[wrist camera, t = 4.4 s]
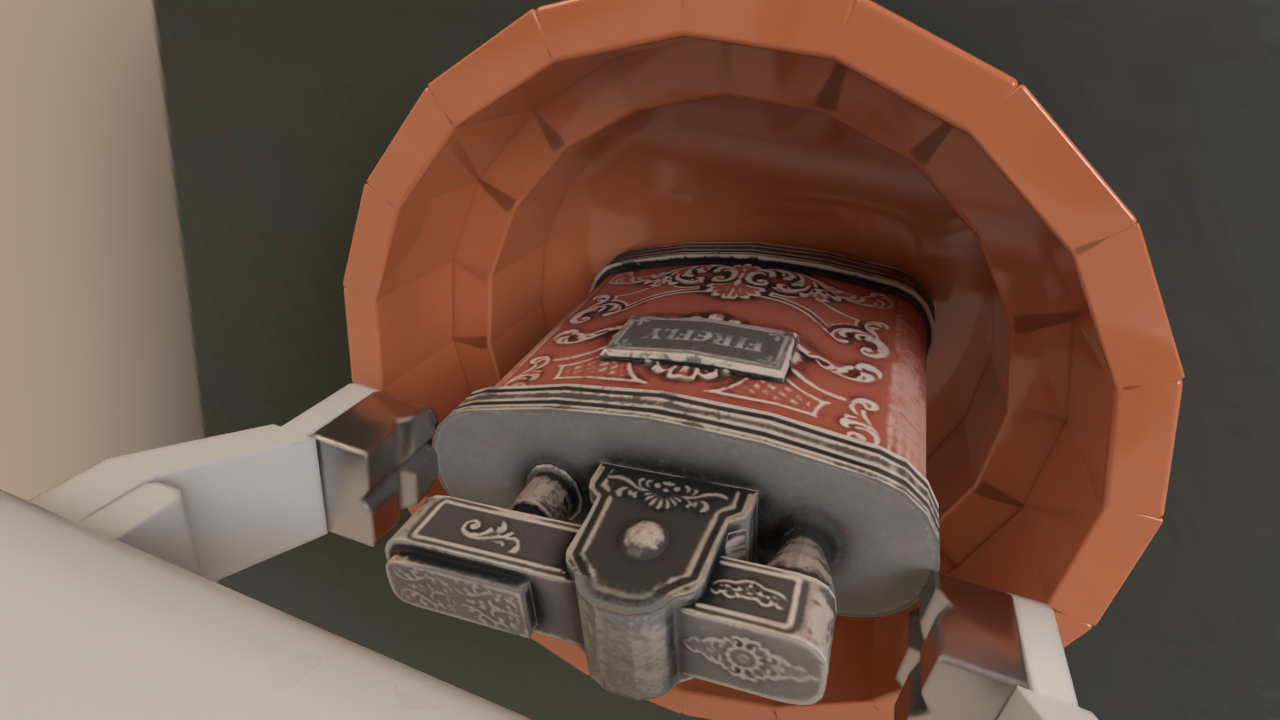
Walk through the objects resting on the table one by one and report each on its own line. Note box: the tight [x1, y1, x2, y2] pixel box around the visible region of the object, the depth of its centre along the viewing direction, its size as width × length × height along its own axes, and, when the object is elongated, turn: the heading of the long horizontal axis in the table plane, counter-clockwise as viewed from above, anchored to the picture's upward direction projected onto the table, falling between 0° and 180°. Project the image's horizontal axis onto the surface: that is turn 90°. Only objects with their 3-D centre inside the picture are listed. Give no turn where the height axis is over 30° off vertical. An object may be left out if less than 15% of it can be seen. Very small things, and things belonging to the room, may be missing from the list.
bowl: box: [343, 0, 1185, 720], centre depth 15 cm, size 15×15×6 cm
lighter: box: [385, 242, 940, 705], centre depth 12 cm, size 8×3×10 cm, turn 92°
